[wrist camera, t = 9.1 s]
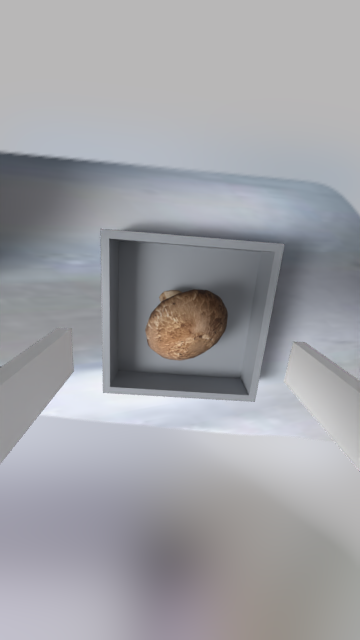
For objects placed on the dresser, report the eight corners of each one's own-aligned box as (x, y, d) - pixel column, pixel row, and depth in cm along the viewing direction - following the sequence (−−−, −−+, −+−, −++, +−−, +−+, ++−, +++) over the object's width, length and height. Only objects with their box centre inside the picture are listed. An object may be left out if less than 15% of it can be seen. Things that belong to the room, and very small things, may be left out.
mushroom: (134, 272, 20) (158, 321, 16) (214, 262, 23) (250, 302, 19) (136, 334, 26) (154, 382, 22) (200, 320, 29) (226, 360, 25)
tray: (113, 373, 27) (103, 392, 23) (113, 232, 23) (100, 228, 19) (243, 381, 28) (254, 401, 24) (267, 245, 24) (284, 243, 20)
